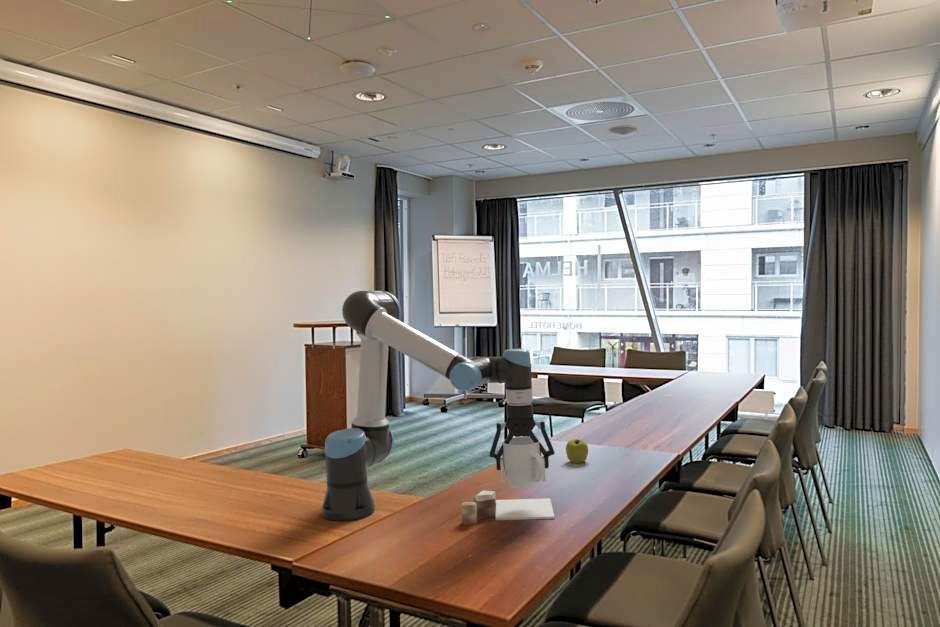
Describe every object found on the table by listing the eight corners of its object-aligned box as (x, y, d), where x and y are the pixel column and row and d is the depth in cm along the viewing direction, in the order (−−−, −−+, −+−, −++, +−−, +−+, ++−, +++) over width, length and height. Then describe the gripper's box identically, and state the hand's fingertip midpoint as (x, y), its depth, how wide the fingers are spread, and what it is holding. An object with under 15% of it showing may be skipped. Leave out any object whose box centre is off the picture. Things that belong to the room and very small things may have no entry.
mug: (559, 489, 180) (557, 442, 179) (529, 497, 173) (526, 449, 173) (526, 478, 192) (523, 434, 192) (496, 486, 186) (493, 441, 186)
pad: (495, 520, 176) (495, 517, 176) (496, 501, 192) (496, 499, 192) (554, 518, 175) (554, 516, 175) (550, 500, 191) (550, 498, 191)
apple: (569, 455, 241) (575, 430, 239) (588, 463, 236) (594, 438, 234) (559, 460, 234) (565, 434, 232) (578, 469, 230) (585, 443, 228)
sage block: (475, 510, 186) (474, 496, 186) (483, 503, 191) (482, 490, 191) (488, 511, 184) (487, 497, 184) (495, 505, 190) (495, 491, 190)
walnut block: (478, 519, 178) (477, 501, 178) (474, 513, 183) (473, 496, 183) (495, 517, 179) (494, 499, 179) (491, 511, 184) (490, 494, 184)
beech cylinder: (462, 525, 174) (461, 506, 173) (462, 519, 178) (462, 501, 177) (476, 524, 173) (476, 506, 173) (477, 519, 177) (476, 501, 177)
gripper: (477, 407, 180) (481, 485, 180) (562, 403, 179) (565, 482, 179) (478, 403, 187) (482, 478, 188) (559, 399, 186) (563, 475, 187)
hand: (523, 480), depth 183 cm, fingers closed on mug, 11 cm apart
